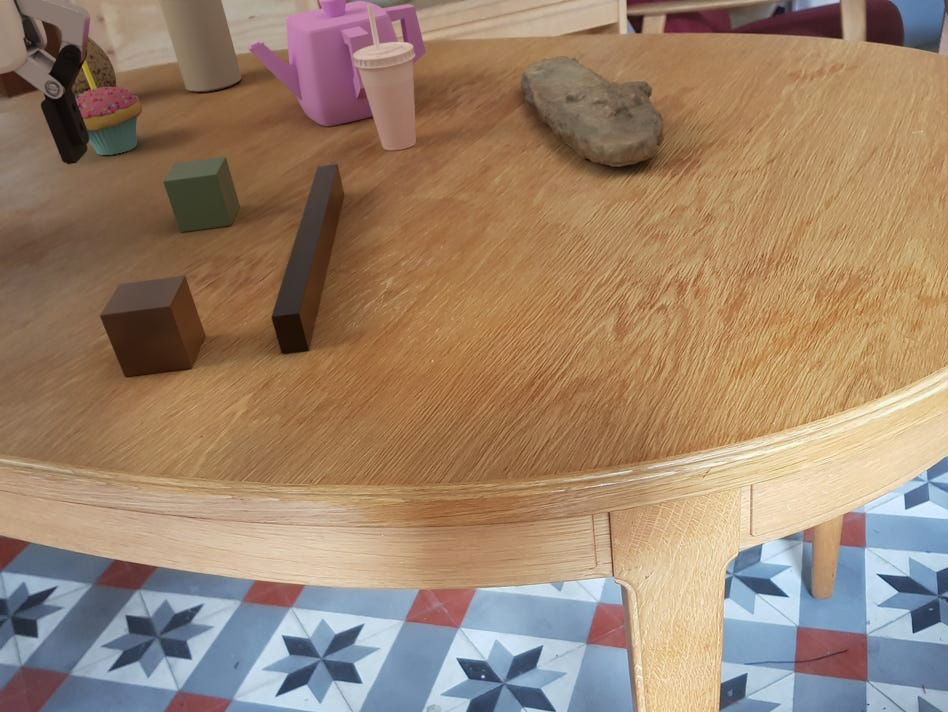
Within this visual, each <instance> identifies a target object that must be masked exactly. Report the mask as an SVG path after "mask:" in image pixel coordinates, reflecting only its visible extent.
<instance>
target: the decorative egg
mask: <svg viewBox="0 0 948 712" xmlns="http://www.w3.org/2000/svg"><path fill="white" fill-rule="evenodd" d="M60 44H61V45H60V47H59V51H58V53H59V52H60V50H61V48H62V43H60ZM86 50H87V57H86V59H85V60H86V63H87V65H88V68H89V70H90V72H91V75H92V77H93V80H94V82H95V85H96V87H97V88H98V87H99V88H100V87H114V86H117V76H116V73H115V69H114V66H113V63H112V62H111V60H110V59H111V58H109V56H108V54H107V53H106V52H105V51H104V50H103V48H102V47H101V46H100V45H99V44H97V42H96V41H95V40H93V39H92V38H91V37H89V36H88V43H87V47H86ZM90 89H91V87H90V85H89V83H88V80H87V78H86V75H85V73H84V70H83V68H82V67H81V70H80V72H79V74H78V76H77V78H76V82H75V85H74V86H73V87H72V91H73V94H74V96H75V99H76V96H79V94H80V93H82V94H83V92H84V91H88V90H90Z"/></svg>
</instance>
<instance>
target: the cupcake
mask: <svg viewBox="0 0 948 712" xmlns="http://www.w3.org/2000/svg"><path fill="white" fill-rule="evenodd" d="M82 68H83V70H84V73H85V75H86V78H87V80H88V83H89V85H90V87H91V89H90V90H88V91H84V92H83V94H82V93H80V94H79V96H76V102H77V104H78V107H79V110H80V112H81V115H82V117H83V120H84V123H85V125H86V128H87V131H88V134H89V142H88V143H89V144H90V145H91V147H92V148H93V149H94V151H95V152H96V154H98V155H99V154H100V155H99V156H102V155H110V154H111V155H110V156H113V155H112V154H116V155H119V154H118V153H121V154H123V153H122V152H124V153H127V152H129V151H132V150H134V149H135V148H136V147H137V145H138V142H137V119H138V117H139V116H140V115H142V112H143V108H142V104H141V101H140V99H139V98H140V97H139V96H137V95H136V94H134V92H133V91H129V89H126V88H123V87H122V86H121V87H118V86H117V85H116V86H114V87H100V88H99V87H98V88H97V87H96V85H95V82H94V80H93V77H92V75H91V72H90V70H89V68H88V65H87V63H86V60H85V61H84V63H83V65H82ZM126 151H127V152H126Z"/></svg>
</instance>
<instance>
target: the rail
mask: <svg viewBox="0 0 948 712" xmlns="http://www.w3.org/2000/svg"><path fill="white" fill-rule="evenodd" d="M344 197H345V190H344V186H343V181H342V177H341V172H340V168H339V164H338V163H335V164H327V165H320V166H317V168H316V171H315V174H314V177H313V180H312V183H311V187H310V190H309V193H308V195H307V200H306V203H305V205H304V209H303V212H302V216H301V219H300V222H299V226H298V229H297V231H296V235H295V239H294V242H293V245H292V249H291V252H290V255H289V258H288V261H287V263H286V264H287V265H286V268H285V271H284V275H283V278H282V281H281V285H280V288H279V290H278V294H277V297H276V301H275V304H274V307H273V310H272V313H271V317H270V318H271V321H272V324H273V328H274V331H275V335H276V339H277V342H278V346H279V349H280V353H281V354H282V355H283V354H290V353H292V354H293V353H298V352H299V353H301V352H306V351H307V352H308V351H310V347H311V342H312V338H313V333H314V329H315V325H316V321H317V315H318V311H319V307H320V302H321V298H322V294H323V293H322V292H323V289H324V286H325V280H326V278H327V277H326V276H327V272H328V267H329V263H330V258H331V254H332V249H333V247H334V246H333V245H334V241H335V236H336V232H337V227H338V223H339V219H340V214H341V211H342V210H341V209H342V206H343V201H344Z"/></svg>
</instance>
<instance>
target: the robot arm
mask: <svg viewBox="0 0 948 712" xmlns="http://www.w3.org/2000/svg"><path fill="white" fill-rule="evenodd" d="M43 22H44V23H48V24H50V25H53V26H55V27H57V29H59V30H60V33H61V44H62V48H61V50H60V49H59V51H60V52H59V51H58V54H57V57H54V56H52V55H51V54H50V53H49V52H47V51H46V50H45V49H46V47H47V45H48V38H47V33H46V30H45V27H44V25H43ZM90 23H91V15H90V13H89V11H88V10H87V9H86V8H84V7H83V6H79V5H76V4H73V3H70V2H68V1H65V0H0V75H3V74H6V73H11V72H14V73H16V74H17V75H18V76H20V77H21V78H22V79H24V80H25V81H26V82H28V83H29V84H31V86H33V87H34V88H36V90H38V91H40V92H41V93H42V94H43V96H44V99H43V100H42V101H41V103H40V109H41V111H42V113H43V116H44V118H45V121H46V124H47V126H48V128H49V129H48V130H49V132H50V133H51V136H52V138H53V141H54V144H55V146H56V149H57V151H58V154H59V156H60V159H61V161H62V162H63V163H65V164H66V165H73V164H74V165H75V164H77V163H78V162H79V160H80V159H81V158H82V157H83V156H84V155H85V154H86V153H87V151H88V143H90V142H89V134H88V131H87V128H86V125H85V123H84V120H83V117H82V115H81V112H80V110H79V107H78V104H77V102H76V99H75V96H74V94H73V91H72V87H73V86H74V85H75V82H76V78H77V76H78V74H79V72H80V70H81V67H82V65H83V63H84V61H85V59H86V57H87V50H86V47H87V43H88V37H89V33H90Z"/></svg>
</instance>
